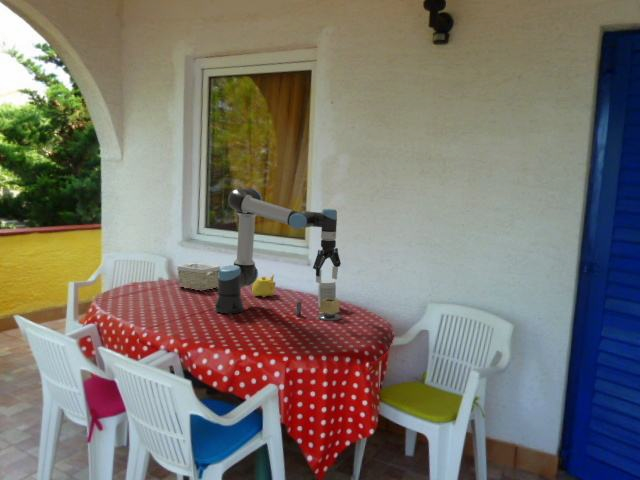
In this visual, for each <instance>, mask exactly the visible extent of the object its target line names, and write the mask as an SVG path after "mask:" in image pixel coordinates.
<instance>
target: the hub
mask: <svg viewBox="0 0 640 480" xmlns="http://www.w3.org/2000/svg"><path fill="white" fill-rule="evenodd" d="M317 319H318V320H322V321H327V322H328V321H329V322H333V321H334V322H335V321H339V320H341V319H342V316H341V315H340V314H338V313H334V314H327V313H320V314H318V315H317Z"/></svg>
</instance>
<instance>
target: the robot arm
mask: <svg viewBox="0 0 640 480" xmlns="http://www.w3.org/2000/svg"><path fill="white" fill-rule="evenodd" d="M263 200H264V199H263V196H262V194H261V193H260V192H259V190H257V189H255V188H234V189H233V190H232V191H230V193H229V194H228V198H227V202H228V205H229V207H230V208H231V209H232V210H234V211H236V214H237V215H238V229H237V230H238V232H237V233H238V235H237V250H236V251H237V252H236V259H235V260H234V261H233V264H230V265H225V266H221V267H220V269H219V272H218V288H217V291H218V293H217V294H218V295H217V299H216V303H215V307H214V312H215V313H217V312H220V313H219V314H222V313H226V314H225V315H233V314H232V313H234V314H238V313H239V312H240V313H243V312H244V309H245V306H244V302H243V299H242V296H241V295H242V292H241V288H244V287H248V286H250V285H253V283H254V282H255V281H256V279H258V278H259V277H258V276H259V272H258V268H257V266H256V262H255V261H254V260H253V258H254V239H255V225H256V224H255V223H256V217H257V216H259V217H263V218H266V219H269V220H273V221H275V222H277V223H278V222H279V223H282V224H285V225H288V226H290V227H291V228H292V229H294V230H295V229H296V230H301V229H306V228H311V227H313V228H321V232H320V233H321V234H320V239H321V240H320V247H321V249H318V250H317V254H316V256H315V257H316V258H315V260H314V263H313V266H312V269H314V270H315V283H318V284H319V283H321V280H322V267H323V265H324V263H325V261H326V260H327V259H330V261H331V264H332V270H331V271H332V272H331V273H332V274H331V280H338V272H339V271H338V270H339V267H340V266H341V264H342V263H341V259H340V255H339V249H338V248H337V247H336V246H337V245H336V242H337V241H336V239H337V223H338V211H337V210H336V209H335V208H324V209H322V210H321V211H320V212H317V211H310V210H309V211H308V210H307V211H306V210H305V211H301V212H299V211H296V210H292V209H290V208H288V207H287V208H286V207H284V206H280V205H277V204H273V203H270V202H268V201H263Z"/></svg>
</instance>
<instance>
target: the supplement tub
mask: <svg viewBox="0 0 640 480" xmlns="http://www.w3.org/2000/svg"><path fill="white" fill-rule="evenodd" d="M336 285H337V284H336V280H334V279H331V280H330V279H321V283H318V290H317V291H318V297H317V299H318V300H317V301H318V302H317V305H318V308H319V309H320V300H324V299H328V298H331V299H336V292H337V291H336Z"/></svg>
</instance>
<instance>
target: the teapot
mask: <svg viewBox="0 0 640 480" xmlns="http://www.w3.org/2000/svg"><path fill="white" fill-rule="evenodd" d="M274 277H275V274H273V275H271V277H270V278H269V277H266V276H264V275H263V276H261V277H260V278H259V277H258V278H257V279H256V281H255V282H254V283H252V288H251V291H252V292H251V293H252V294H253V295H254V297H255V296H258V297H259V296H260V297H261V298H262V297H266V298H267V296H268V297H272V296H273V294H274V293H275V292H276V288H275V287H276V285H277V283H276V281H274Z"/></svg>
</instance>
